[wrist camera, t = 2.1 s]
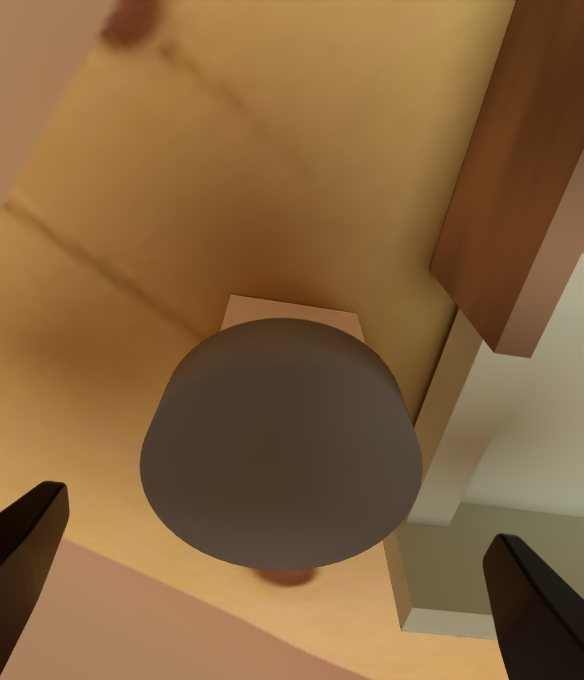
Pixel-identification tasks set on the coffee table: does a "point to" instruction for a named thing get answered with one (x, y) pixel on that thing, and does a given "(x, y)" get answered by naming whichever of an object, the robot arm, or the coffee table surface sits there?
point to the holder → (521, 183)
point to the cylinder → (281, 447)
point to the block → (288, 314)
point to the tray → (494, 471)
